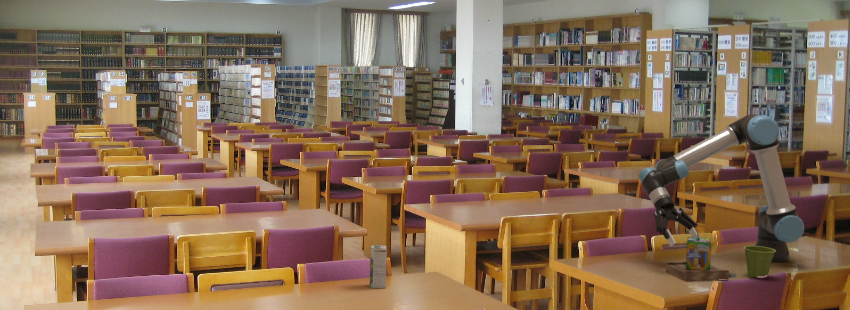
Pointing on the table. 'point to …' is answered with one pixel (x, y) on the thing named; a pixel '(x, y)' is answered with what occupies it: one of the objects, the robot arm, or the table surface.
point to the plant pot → (758, 260)
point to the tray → (695, 272)
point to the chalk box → (698, 253)
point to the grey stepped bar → (732, 274)
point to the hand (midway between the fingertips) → (686, 243)
